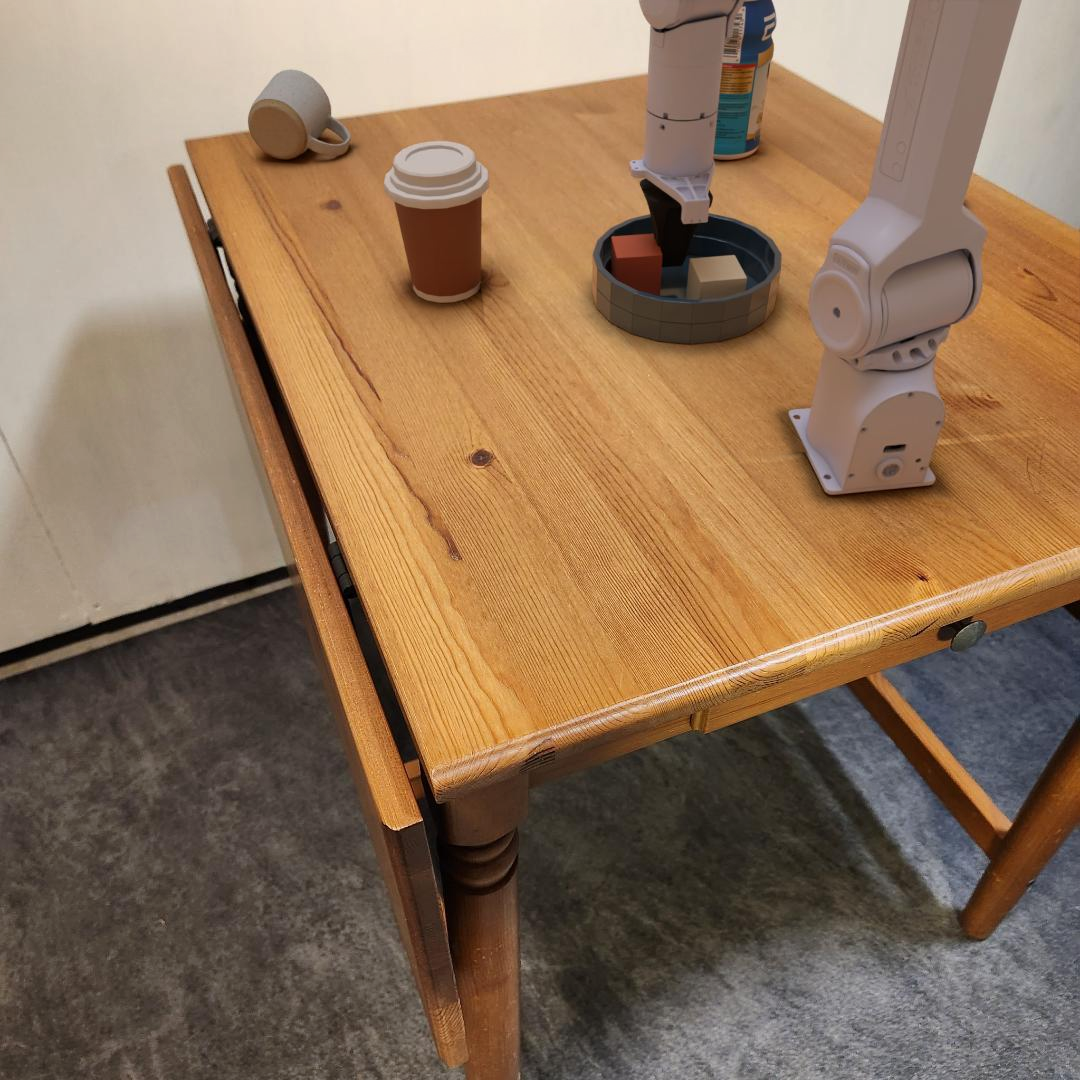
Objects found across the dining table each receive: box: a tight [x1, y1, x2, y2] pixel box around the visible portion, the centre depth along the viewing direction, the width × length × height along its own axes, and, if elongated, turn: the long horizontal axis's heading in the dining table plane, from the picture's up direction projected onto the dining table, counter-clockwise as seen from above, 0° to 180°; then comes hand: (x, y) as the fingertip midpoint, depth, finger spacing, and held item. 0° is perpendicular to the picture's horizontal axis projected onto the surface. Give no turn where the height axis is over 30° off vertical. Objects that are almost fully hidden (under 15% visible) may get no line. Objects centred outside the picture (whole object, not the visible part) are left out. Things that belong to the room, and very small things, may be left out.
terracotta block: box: [611, 234, 662, 296], centre depth 85 cm, size 4×4×4 cm
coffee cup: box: [383, 140, 490, 304], centre depth 84 cm, size 9×9×12 cm
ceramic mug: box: [247, 69, 352, 160], centre depth 108 cm, size 11×8×8 cm
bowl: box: [591, 212, 783, 345], centre depth 84 cm, size 16×16×4 cm
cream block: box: [686, 255, 747, 300], centre depth 81 cm, size 4×4×4 cm
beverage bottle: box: [713, 0, 777, 161], centre depth 102 cm, size 8×8×20 cm
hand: (670, 262), depth 85 cm, fingers closed, pressing on terracotta block
